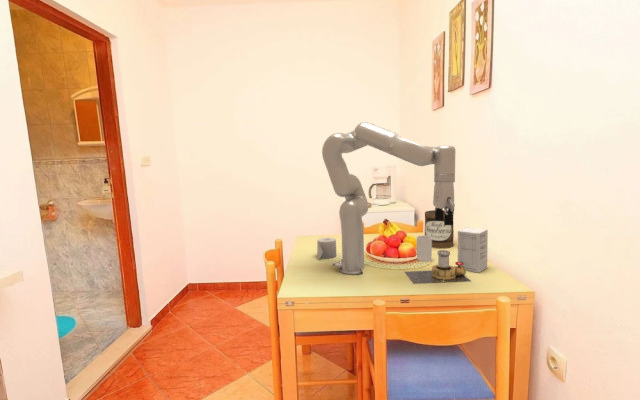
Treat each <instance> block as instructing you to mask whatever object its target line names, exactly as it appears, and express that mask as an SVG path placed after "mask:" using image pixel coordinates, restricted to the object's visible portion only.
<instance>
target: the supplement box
mask: <svg viewBox="0 0 640 400" xmlns="http://www.w3.org/2000/svg"><path fill="white" fill-rule="evenodd" d="M488 234H489V233H488V229H483V228H476V227H475V228H474V227H465V228H463V229H462V228H461V229H459V230H458V231H457V262H463V263H464V265H460V266H464V267H465V269H466V271H468V272H472V273H473V272H474V273H477V274H478V273H481V272H482V271H484V270H486V269H487V268H488Z"/></svg>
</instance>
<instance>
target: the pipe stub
mask: <svg viewBox="0 0 640 400" xmlns="http://www.w3.org/2000/svg"><path fill="white" fill-rule="evenodd" d="M437 255H438V256H437V257H438V258H437V259H438V260H437V265H438V269H440V270H449V265H450V255H451V252H450V250H445V249H444V250H443V249H442V250H438V251H437Z"/></svg>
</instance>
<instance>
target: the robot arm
mask: <svg viewBox="0 0 640 400" xmlns="http://www.w3.org/2000/svg"><path fill="white" fill-rule="evenodd" d="M367 146H368V147H371V148H374V149H377V150H378V151H380V152H383V153H386V154H388V155H390V156H394V157H396V158H398V159H401V160H402V161H405V162H407V163H410V164H413V165H415V166H418V167H425V166H429V165H430V166H431V165H434V166H433V167H434V168H433V170H434V171H433V173H434V174H433V177H434V178H433V183H434V186H433V196H432V197H433V198H432V199H433V201H432V205H433V206H434V210H435V220H443V216H444V225H453V226H454V215H455V213H454V212H455V205H456V204H455V187H454V184H455V183H456V147H455V146H454V145H441V146H440V145H439V146H426V145H422V144H419V143H416V142H413V141H412V140H409V139H406V138H404V137H402V136H401V135H399V134H398V133H397V132H394V131H391V130H388V129H386V128H383V127H380V126H377V125H375V124H374V123H370V122H366V121H365V122H364V121H362V122H360V123H358V124H357V125H356V127H355V129H354V130H351V131H350V132H347V133H343V132H336V133H332V134H330V135H329V136H328V137H327V138H326V139H325V141H324V143H323V145H322V150H321V153H322V160H323V162H324V165H325V168H326V170H327V174H328V177H329V180H330V182H331V185H332V189H333V191H334V193H335V194H336V195H337V196H338V197H341V198H344V199H345V200H344V201H343V202H342V203H341V205H340V207H339V219H340V229H341V230H340V231H341V255H342V256H341V257H342V258H341V259H340V260H339V261H331V266H332V267H335V268H338V271H339V273H342V274H346V275H351V276H353V275H362V274H364V273H363V269H365V241H364V240H365V237H364V234H365V233H364V223H363V217H364V216H365V215H367V213H368V211H369V202H368V199H367V196H366V193H365V191H364V188H363V186H362V183H361V181H360V179H359V178H358V176H356V175H355V174H351V173H350V172H349V168H348V167H347V164H346V161H345V159H344V158H343V155H342V154H349V153H353V152H355V151H358V150H359V149H362V148H364V147H367ZM444 210H445V214H446V215H444Z"/></svg>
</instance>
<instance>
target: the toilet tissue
mask: <svg viewBox="0 0 640 400" xmlns="http://www.w3.org/2000/svg"><path fill="white" fill-rule="evenodd" d="M316 243H317V246H316V248H317V249H316V251H317V253H316V258H317V261H319V260H320V259H322V260H330V259H331V260H332V259H334V258H336V257H337V239H336V238H334V237H321V238H320V237H319V238H318V239H317V240H316Z"/></svg>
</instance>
